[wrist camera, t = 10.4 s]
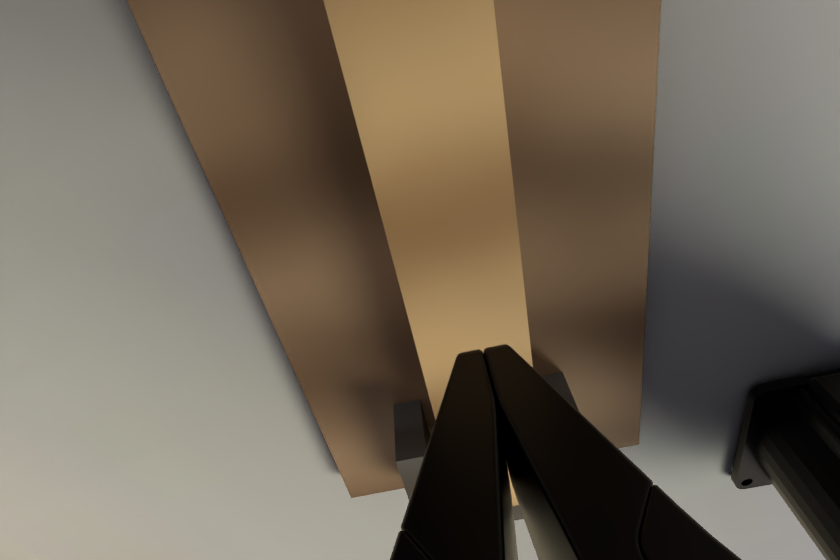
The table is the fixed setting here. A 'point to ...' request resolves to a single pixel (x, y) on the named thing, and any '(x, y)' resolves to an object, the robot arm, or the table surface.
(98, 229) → the table surface
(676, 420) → the table surface
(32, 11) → the table surface
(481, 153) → the slat
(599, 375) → the endcap frame
